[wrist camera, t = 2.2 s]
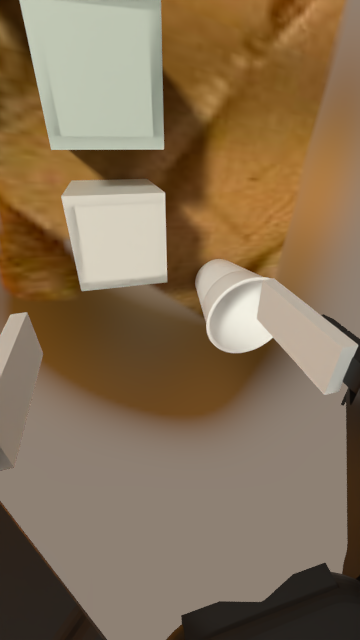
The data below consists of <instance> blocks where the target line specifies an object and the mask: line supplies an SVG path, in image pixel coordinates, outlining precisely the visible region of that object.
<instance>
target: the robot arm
mask: <svg viewBox="0 0 360 640" xmlns="http://www.w3.org/2000/svg"><path fill="white" fill-rule="evenodd" d="M257 320H258V321H259V322H260V323H261V324H262V325H263V326H264V328H265V329H266V330H267V331H268V332H269V333H270V334H271V335H272V337H273V338H274V339H275V340H276V341H277V342H278V343H279V344H280V346H281V347H282V348H283V349H284V350H285V351H286V352H287V353H288V355H289V356H290V357H291V358H292V359H293V360H294V361H295V362H296V364H297V365H298V366H299V367H300V368H301V369H302V370H303V371H304V372H305V374H306V375H307V376H308V377H309V378H310V379H311V380H312V382H313V383H314V384H315V385H316V386H317V387H318V388H319V389H320V391H321V392H322V393H323V394H324V395H326V394H330V393H334V392H338V391H339V389H340V387H341V385H342V382H344V383H345V384H346V385H347V386H348V390H347V392H346V394H345V396H344V399H343V401H342V403H341V405H344V404H345V402H346V418H347V419H346V421H347V422H346V429H347V527H348V528H347V529H348V544H347V553H346V557H345V560H344V565H343V572H342V574H339V573H334V572H330V570H329V569H328V567H327V565H326V563H323V564H320V565H318V566H315V567H312V568H309V569H307V570H304V571H301V572H299V573H296V574H293V575H292V576H291V577H290V578H289V579H288V580H287V581H285V582H284V583H283V584H282V585H281V586H280V587H279V588H278V589H276V590H275V591H274V593H272V594H271V595H270V596H269V597H268V598H267V599H265V600H264V601H262V602H217V603H214V604H212V605H209V606H206V607H204V608H201V609H198V610H195V611H192V612H190V613H187V614H184V615H182V616H181V617H182V625H180V626H179V627H178V628H177V629H176V630H175V631H174V632H173V633H172V634H171V635H170V636H169V637H168V638H167V639H166V640H360V339H359V338H358V337H356V336H355V335H354V334H352V333H351V332H350V331H347V329H346V328H344V327H343V326H341V325H340V324H339V323H338V322H337V321H335V320H334V319H332V318H330V317H327V316H325V315H320V314H318V313H317V312H316V311H315V310H313V309H312V308H311V307H310V306H308V305H307V304H306V303H305V302H303V301H302V300H301V299H299V298H298V297H297V296H296V295H294V294H293V293H292V292H290V291H289V290H288V289H287V288H285V287H284V286H283V285H281V284H280V283H279V282H278V281H277V280H275V279H268V280H263V281H262V287H261V293H260V300H259V306H258V312H257ZM42 356H43V352H42V350H41V347H40V345H39V342H38V340H37V337H36V334H35V332H34V329H33V326H32V324H31V321H30V319H29V316H28V314H27V312H26V313H18V314H11V315H10V317H9V319H8V321H7V323H6V325H5V327H4V329H3V331H2V333H1V335H0V471H2V470H6V469H10V468H14V466H15V462H16V458H17V454H18V451H19V446H20V443H21V439H22V435H23V431H24V427H25V423H26V419H27V415H28V411H29V407H30V403H31V400H32V395H33V392H34V388H35V384H36V379H37V376H38V372H39V368H40V364H41V360H42ZM0 640H107V639H106V638H105V636H104V635H103V634H102V632H101V631H100V630H99V629H98V627H97V626H96V625H95V623H94V622H93V621H92V620H91V618H90V617H89V616H88V614H87V613H86V612H85V610H84V609H83V608H82V607H81V605H80V604H79V603H78V601H77V600H76V599H75V597H74V596H73V595H72V594H71V592H70V591H69V590H68V589H67V587H66V586H65V585H64V583H63V582H62V581H61V579H60V578H59V577H58V575H57V574H56V573H55V572H54V570H53V569H52V568H51V566H50V565H49V564H48V562H47V561H46V560H45V558H44V557H43V556H42V555H41V553H40V552H39V551H38V549H37V548H36V547H35V546H34V544H33V543H32V542H31V540H30V539H29V538H28V536H27V535H26V534H25V533H24V531H23V530H22V529H21V527H20V526H19V525H18V523H17V522H16V521H15V520H14V518H13V517H12V516H11V514H10V513H9V512H8V511H7V509H6V508H5V507H4V505H3V504H2V503H1V501H0Z"/></svg>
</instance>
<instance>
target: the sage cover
mask: <svg viewBox="0 0 360 640" xmlns="http://www.w3.org/2000/svg"><path fill="white" fill-rule="evenodd" d="M20 5H21V10H22V15H23V19H24V24H25V29H26V33H27V38H28V43H29V47H30V52H31V57H32V61H33V66H34V71H35V75H36V80H37V85H38V90H39V94H40V99H41V104H42V108H43V113H44V118H45V122H46V127H47V132H48V136H49V141H50V146H51V150H164V120H163V76H162V33H161V0H20Z"/></svg>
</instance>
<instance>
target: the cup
mask: <svg viewBox="0 0 360 640" xmlns="http://www.w3.org/2000/svg"><path fill="white" fill-rule="evenodd" d="M268 279H271V278H267V277H262V276H260V275H258V274H256V273H253V272H251V271H249V270H246V269H244V268H242V267H240V266H238V265H236V264H234V263H232V262H229V261H227V260H224V259H215V260H211V261H209V262H207V263H206V264H205V265H203V266H202V267H201V269H200V270H199V272H198V274H197V276H196V280H195V285H196V290H197V293H198V296H199V300H200V303H201V307H202V310H203V313H204V317H205V321H206V329H207V334H208V337H209V339H210V341H211V342H212V343H213V345H214V346H216V347H217V348H218V349H220V350H222V351H225V352H229V353H243V352H248V351H251V350H254V349H256V348H258V347H261V346H262V345H264V344H265V343H267V342H268V341H269V340H270V339H272V338H273V337H272V335H271V334H270V333H269V332H268V331H267V330H266V329H265V328H264V326H263V325H262V324H261V323H260V322H259V321H258V320H257V312H258V306H259V300H260V293H261V287H262V281H263V280H268Z"/></svg>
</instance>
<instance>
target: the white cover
mask: <svg viewBox="0 0 360 640" xmlns="http://www.w3.org/2000/svg"><path fill="white" fill-rule="evenodd" d="M61 197H62V202H63V207H64V211H65V216H66V221H67V225H68V230H69V235H70V239H71V244H72V249H73V254H74V258H75V263H76V268H77V272H78V277H79V282H80V286H81V291H88V290H97V289H107V288H117V287H127V286H135V285H146V284H156V283H165V282H167V251H166V207H165V192H163V191H162V190H161V189H160V188H158V187H157V186H156V185H155V184H153V183H152V182H151V181H149V180H148V179H118V180H76V181H71V182H70V184H69V185H68V187H67V188H66V190H65V191H64V193H63V195H62V196H61Z"/></svg>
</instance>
